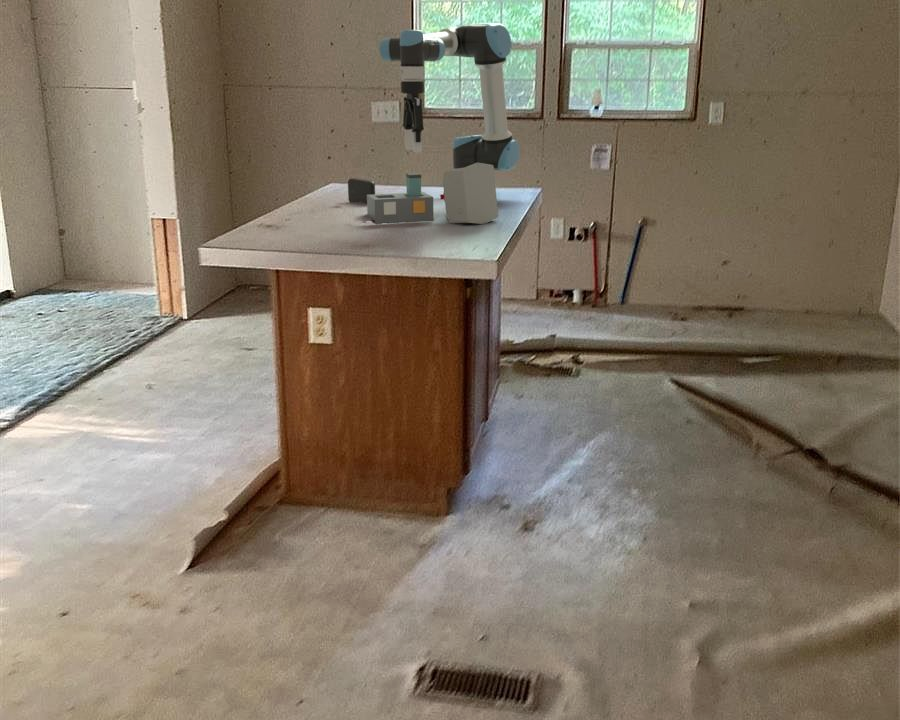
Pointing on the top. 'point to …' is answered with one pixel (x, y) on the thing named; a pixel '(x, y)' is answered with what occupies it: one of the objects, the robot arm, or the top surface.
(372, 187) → the dark grey curved block
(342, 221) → the top surface
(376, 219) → the junction block
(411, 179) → the plug
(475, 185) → the electrical switch box
